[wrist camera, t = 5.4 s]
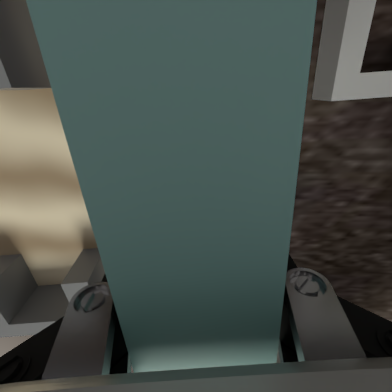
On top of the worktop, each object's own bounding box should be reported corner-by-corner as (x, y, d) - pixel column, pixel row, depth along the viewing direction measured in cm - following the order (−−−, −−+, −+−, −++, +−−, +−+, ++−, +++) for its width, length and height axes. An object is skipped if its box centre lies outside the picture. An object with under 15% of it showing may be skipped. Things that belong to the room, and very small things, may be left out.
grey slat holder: (118, 290, 23) (105, 329, 19) (23, 297, 23) (-8, 337, 19) (20, -26, 12) (-52, -75, 8) (-159, -13, 12) (-307, -56, 8)
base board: (134, 281, 24) (131, 293, 23) (23, 290, 24) (14, 302, 23) (54, -28, 13) (39, -40, 12) (-150, -12, 13) (-189, -23, 12)
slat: (236, 347, 15) (262, 489, 10) (177, 351, 15) (169, 495, 10) (236, 24, 8) (333, -141, 3) (127, 33, 8) (-7, -112, 3)
